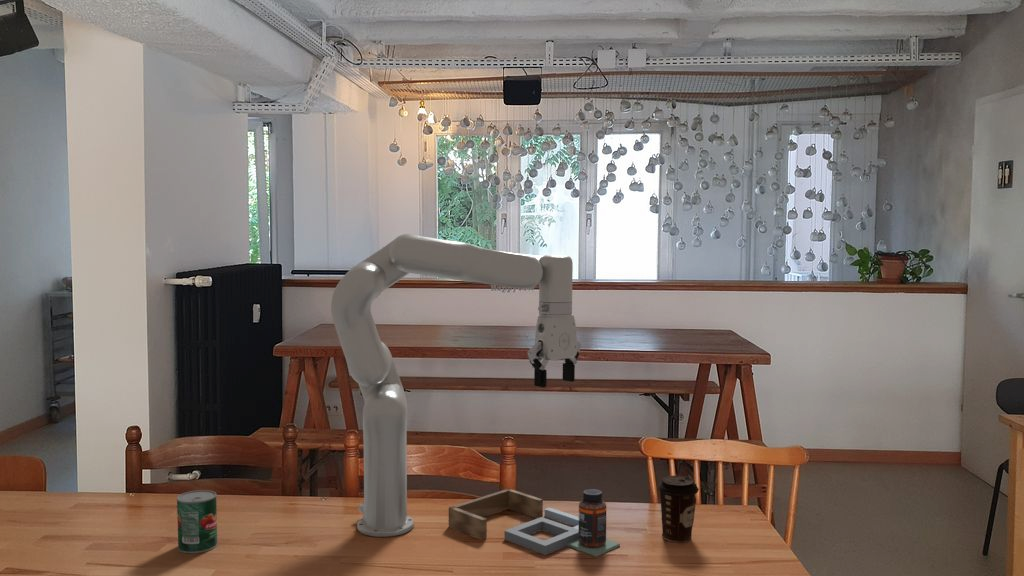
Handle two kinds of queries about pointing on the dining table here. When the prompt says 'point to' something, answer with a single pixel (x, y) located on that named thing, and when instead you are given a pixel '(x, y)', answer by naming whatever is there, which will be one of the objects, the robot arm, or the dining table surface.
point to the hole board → (524, 538)
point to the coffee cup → (677, 507)
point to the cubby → (491, 510)
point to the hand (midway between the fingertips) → (554, 383)
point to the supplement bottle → (592, 519)
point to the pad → (594, 550)
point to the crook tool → (562, 517)
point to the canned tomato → (197, 521)
